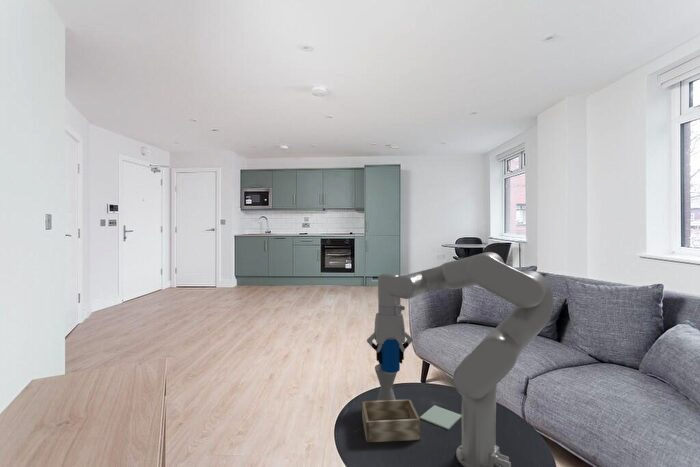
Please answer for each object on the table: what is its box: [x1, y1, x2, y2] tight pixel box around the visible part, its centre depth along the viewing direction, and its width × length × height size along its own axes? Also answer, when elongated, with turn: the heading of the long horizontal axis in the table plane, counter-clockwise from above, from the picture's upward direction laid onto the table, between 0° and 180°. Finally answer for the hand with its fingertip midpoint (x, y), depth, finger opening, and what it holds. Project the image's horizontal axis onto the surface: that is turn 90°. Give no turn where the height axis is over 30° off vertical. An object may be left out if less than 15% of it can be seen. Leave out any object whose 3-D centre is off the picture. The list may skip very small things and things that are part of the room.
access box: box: [361, 398, 421, 443], centre depth 119 cm, size 18×14×6 cm
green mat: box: [419, 404, 462, 431], centre depth 126 cm, size 11×11×1 cm
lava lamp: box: [374, 363, 398, 401], centre depth 134 cm, size 9×9×35 cm
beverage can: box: [381, 338, 401, 374], centre depth 119 cm, size 6×6×12 cm
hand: (390, 361), depth 119 cm, fingers closed on beverage can, 6 cm apart
